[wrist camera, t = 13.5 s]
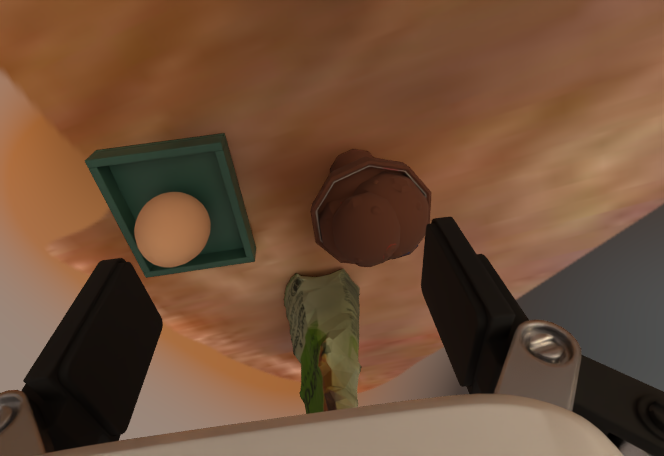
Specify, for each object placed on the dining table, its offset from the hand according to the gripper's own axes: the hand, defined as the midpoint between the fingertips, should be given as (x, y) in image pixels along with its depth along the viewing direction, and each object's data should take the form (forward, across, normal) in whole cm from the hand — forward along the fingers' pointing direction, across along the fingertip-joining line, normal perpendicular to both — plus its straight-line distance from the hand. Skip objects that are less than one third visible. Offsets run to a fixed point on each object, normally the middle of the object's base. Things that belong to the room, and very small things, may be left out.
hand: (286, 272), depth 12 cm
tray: (+26, +13, +12) cm, 32 cm away
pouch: (+26, 0, +28) cm, 39 cm away
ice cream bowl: (+27, -6, +11) cm, 30 cm away
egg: (+26, +13, +12) cm, 32 cm away
